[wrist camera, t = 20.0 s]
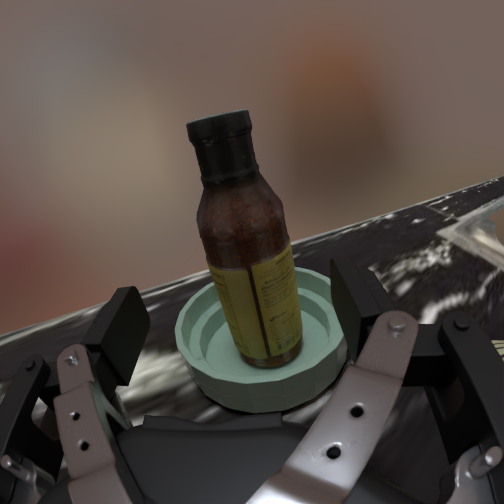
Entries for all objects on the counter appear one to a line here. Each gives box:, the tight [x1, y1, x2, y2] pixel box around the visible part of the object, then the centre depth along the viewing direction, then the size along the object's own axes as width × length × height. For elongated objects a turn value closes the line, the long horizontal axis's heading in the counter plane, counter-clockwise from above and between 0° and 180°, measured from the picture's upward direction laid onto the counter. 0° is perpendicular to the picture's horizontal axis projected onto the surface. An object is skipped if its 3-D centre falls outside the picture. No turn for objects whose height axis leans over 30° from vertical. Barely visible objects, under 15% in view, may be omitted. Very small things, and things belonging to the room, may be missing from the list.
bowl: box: [175, 267, 347, 413], centre depth 24 cm, size 15×15×5 cm
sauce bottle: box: [186, 109, 303, 367], centre depth 21 cm, size 6×6×20 cm
